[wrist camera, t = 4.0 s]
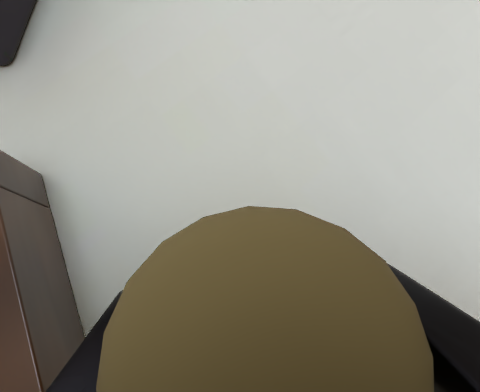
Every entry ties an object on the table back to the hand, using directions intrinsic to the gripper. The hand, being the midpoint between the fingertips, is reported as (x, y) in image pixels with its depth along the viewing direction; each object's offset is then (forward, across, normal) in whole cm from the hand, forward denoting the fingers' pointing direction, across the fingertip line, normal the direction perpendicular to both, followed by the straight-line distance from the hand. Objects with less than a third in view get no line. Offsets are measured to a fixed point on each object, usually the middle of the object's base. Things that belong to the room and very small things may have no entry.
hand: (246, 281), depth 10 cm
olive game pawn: (+4, 0, +6) cm, 7 cm away
